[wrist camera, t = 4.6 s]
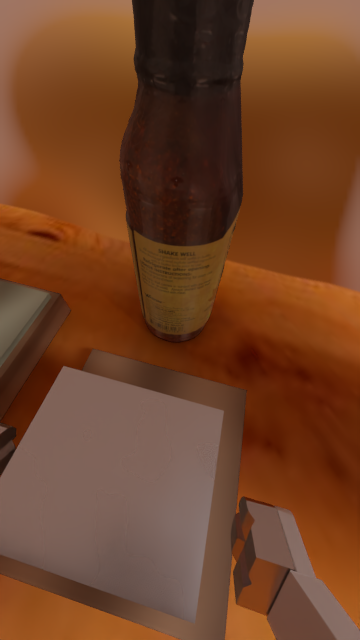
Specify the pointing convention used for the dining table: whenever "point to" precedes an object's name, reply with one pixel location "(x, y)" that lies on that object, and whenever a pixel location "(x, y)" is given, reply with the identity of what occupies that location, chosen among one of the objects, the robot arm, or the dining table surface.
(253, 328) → the dining table surface
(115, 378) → the stand right
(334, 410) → the dining table surface
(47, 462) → the housing
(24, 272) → the dining table surface
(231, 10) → the sauce bottle
